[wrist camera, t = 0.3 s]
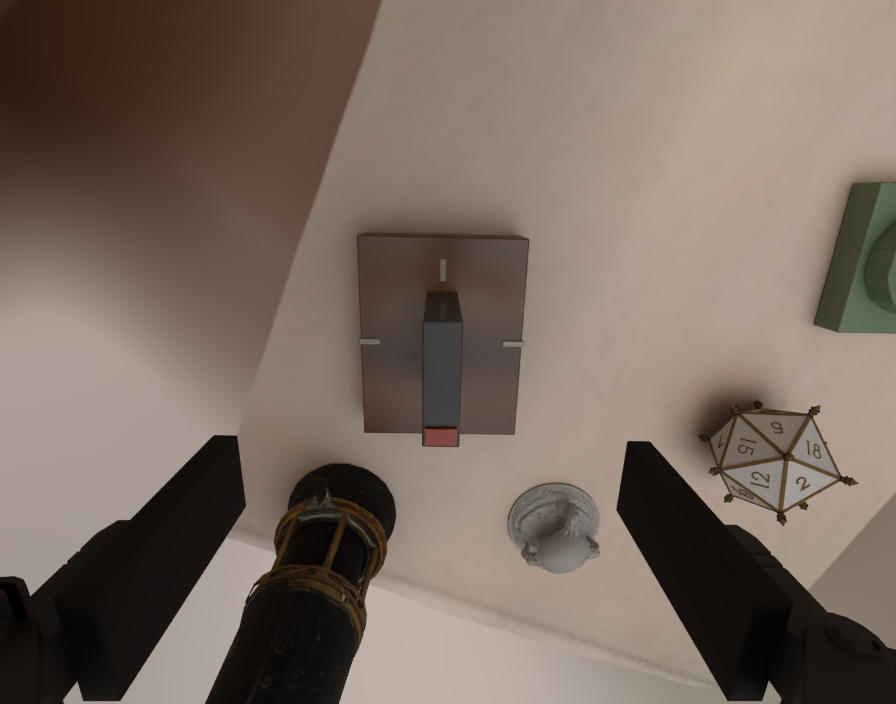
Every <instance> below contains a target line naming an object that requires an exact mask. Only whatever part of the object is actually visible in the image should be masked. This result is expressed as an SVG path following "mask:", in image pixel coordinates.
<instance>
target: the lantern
mask: <svg viewBox="0 0 896 704" xmlns="http://www.w3.org/2000/svg"><path fill="white" fill-rule="evenodd" d="M395 519H396V510H395V504H394V499H393V496H392V494H391V493H390V491H389V489H388V488H387V486H386V484H385V483H384V482H382V481H381V480H380V479H379V478H378V477H377V476H375V475H374V474H372V473H371V472H369V471H368V470H365V469H363V468H360V467H356V466H353V465H349V464H330V465H326V466H323V467H320V468H318V469H316V470H314V471H312V472H310V473H309V474H307V475H306V476H305V477H303V478H302V479H301V480H300V481H299V482H298V483H297V485H296V487H295V489H294V490H293V492H292V494H291V496H290V499H289V503H288V512H287V513H286V514H285V515H284V516H283V517H282V518H281V520H280V522H279V524H278V526H277V528H276V532H275V538H274V545H275V550H276V556H277V558H276V560H275V562H274V565H273V567H272V569H271V571H270V572H268V573H266V574H264V575H263V576H262V577H261V578H260V579H259V580H258V581H257V582H256V583H255V584H254V585H253V587H252V589H251V591H250V593H251V592H252V590H253V588H254V586H256V585H258V584H259V585H258V587H257V588H256V589H255V590H254V592H253V593H252V594H251V596H250V593H249V596H248V597H247V599H246V601H245V602H246V605H245V607H244V611H243V614H242V619H241V623H240V627H239V629H238V632H237V634H236V636H235V638H234V640H233V643H232V645H231V647H230V649H229V651H228V654H227V656H226V658H225V661H224V663H223V665H222V667H221V670H220V671H219V674H218V676H217V678H216V680H215V683H214V685H213V687H212V689H211V691H210V694H209V696H208V698H207V700H206V702H205V704H339V701H340V698H341V695H342V692H343V689H344V685H345V683H346V679H347V676H348V673H349V670H350V667H351V664H352V661H353V658H354V657H355V655H356V652H357V650H358V648H359V646H360V643H361V640H362V637H363V632H364V630H365V626H366V617H367V613H366V608H365V602H364V601H365V596H366V593H367V589H368V586H369V582H370V580H371V579H372V578H374V577H375V576H376V575H377V573H378V572H379V570H380V569H381V567H382V566H383V564H384V560H385V557H386V553H387V541H388V540H389V538H390V536H391V534H392V532H393V529H394V524H395ZM360 588H361V589H360ZM359 591H360V593H359ZM357 599H358V600H357ZM356 602H357V603H356Z"/></svg>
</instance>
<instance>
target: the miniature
mask: <svg viewBox="0 0 896 704" xmlns="http://www.w3.org/2000/svg"><path fill="white" fill-rule="evenodd" d="M598 528H599V514H598V510H597V508H596V505H595V503H594V502H593V500H592V499H591V498H590V497H589V496H588V495H587V494H586V493H585V492H584V491H582V490H581V489H579V488H577V487H574V486H572V485H568V484H562V483H550V484H544V485H540V486H537V487H535V488H533V489H531V490H529V491H527V492H526V493H525V494H523V495H522V496H521V497H520V498H519V499H518V500H517V501H516V503H515V504H514V506H513V507H512V509H511V512H510V514H509V519H508V529H509V534H510V537H511V539H512V541H513V543H514V544H515V546H516V547H517V548H518V549H519V550H520V551H521V556H522V557H523V558H524V559H525V560H526V562H527V563H528V564H529V565H533V566H538V567H540V568H542V569H545V570H547V571H549V572H551V573H555V574H562V573H567V572H570V571H573V570H575V569H577V568H579V567H581V566H582V565H583V564H584V563H585V561H586V560H587V559H593V558H595V557H596V556H599V555H600V552H599V545H598V543H597V542H595V541H594V538H595V536H596V534H597V531H598ZM589 545H590V546H589Z"/></svg>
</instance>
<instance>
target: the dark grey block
mask: <svg viewBox="0 0 896 704" xmlns="http://www.w3.org/2000/svg"><path fill="white" fill-rule="evenodd" d="M462 347H463V318H462V313H461V308H460V303H459V298H458V293H457V292H427V298H426V305H425V312H424V318H423V386H422V446H428V447H459V433H460V405H461V376H462Z"/></svg>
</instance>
